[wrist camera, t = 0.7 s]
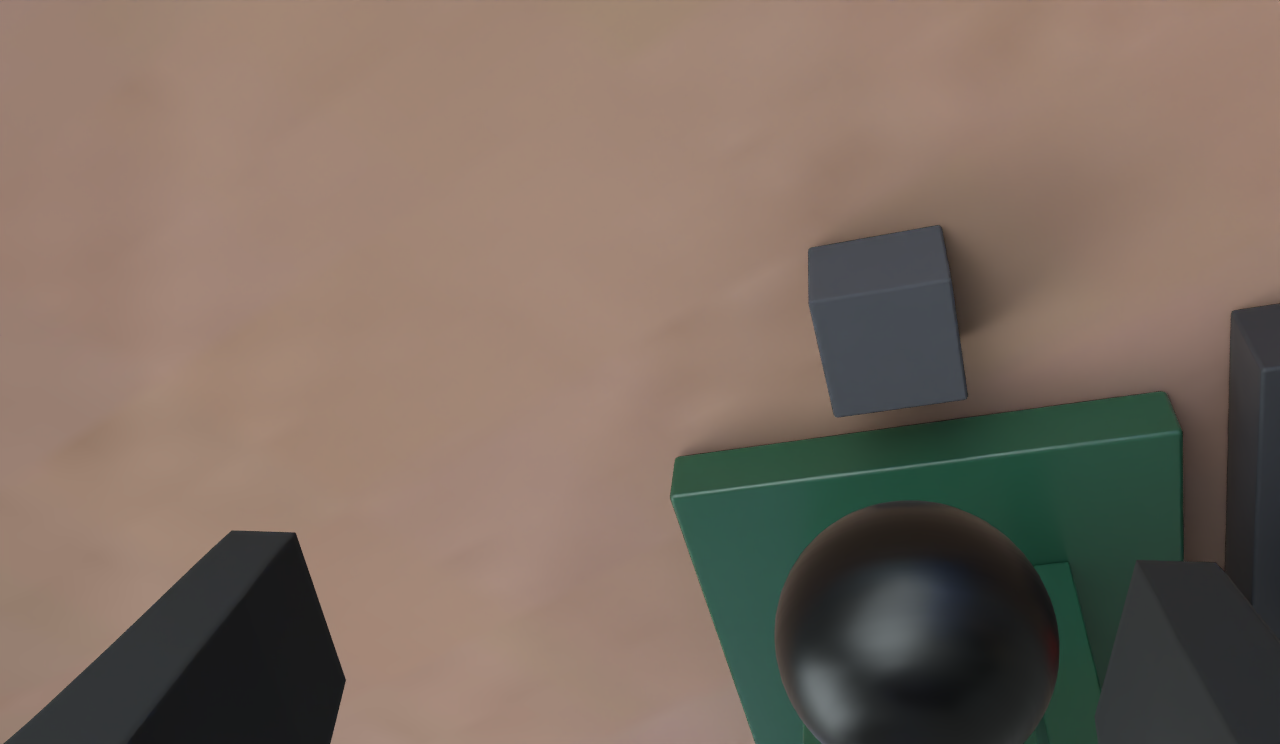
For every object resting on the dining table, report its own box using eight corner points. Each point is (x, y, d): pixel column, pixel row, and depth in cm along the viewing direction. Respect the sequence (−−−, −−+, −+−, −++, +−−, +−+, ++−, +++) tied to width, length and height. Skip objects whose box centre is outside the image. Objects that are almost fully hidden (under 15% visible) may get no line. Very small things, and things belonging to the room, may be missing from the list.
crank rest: (957, 341, 20) (968, 400, 19) (832, 359, 21) (834, 419, 19) (940, 222, 19) (951, 279, 18) (807, 246, 19) (807, 302, 18)
